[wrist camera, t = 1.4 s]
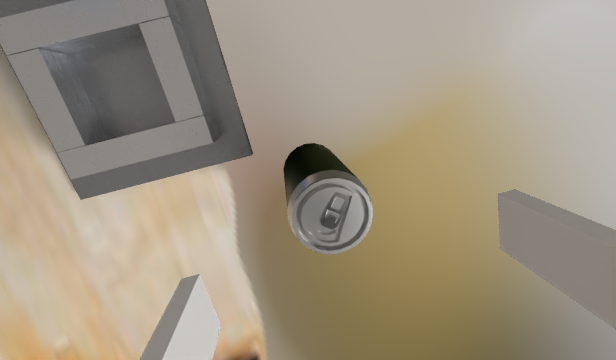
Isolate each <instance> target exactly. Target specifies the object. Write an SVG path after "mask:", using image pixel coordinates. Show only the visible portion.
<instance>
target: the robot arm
mask: <svg viewBox="0 0 616 360" xmlns="http://www.w3.org/2000/svg"><path fill="white" fill-rule="evenodd" d="M498 211H499V235H500V249H501V250H503V251H504V252H506V253H507V254H509V255H510V256H511V257H513V258H514V259H516V260H517V261H519V262H520V263H522V264H523V265H524V266H526V267H527V268H529V269H530V270H532V271H533V272H534V273H536V274H537V275H539V276H540V277H542V278H543V279H544V280H546V281H547V282H549V283H550V284H552V285H553V286H554V287H556V288H557V289H559V290H560V291H562V292H563V293H564V294H566V295H567V296H569V297H570V298H571V299H573V300H574V301H576V302H577V303H579V304H580V305H582V306H583V307H584V308H586V309H587V310H589V311H590V312H592V313H593V314H594V315H596V316H597V317H599V318H600V319H601V320H603V321H604V322H606V323H607V324H609V325H610V326H612V327H613V328H614V329H616V230H614V229H612V228H609V227H607V226H604V225H601V224H599V223H596V222H594V221H592V220H589V219H587V218H584V217H582V216H579V215H577V214H574V213H572V212H569V211H567V210H565V209H562V208H560V207H557V206H555V205H552V204H550V203H547V202H545V201H542V200H540V199H538V198H535V197H533V196H530V195H528V194H525V193H523V192H520V191H518V190H515V189H514V190H511V191H507V192H503V193H499V194H498ZM220 327H221V324H220V322H219V319H218V317H217V315H216V312H215V310H214V307H213V305H212V303H211V300H210V298H209V296H208V293H207V291H206V289H205V286H204V284H203V282H202V279H201V277H200V275H199V274H198V275H195V276H191V277H187V278H184V279H181V281H180V283H179V285H178V287H177V289H176V291H175V292H174V294H173V296H172V298H171V300H170V302H169V304H168V306H167V308H166V310H165V312H164V314H163V316H162V317H161V319H160V321H159V323H158V325H157V327H156V329H155V331H154V333H153V335H152V337H151V339H150V341H149V342H148V344H147V346H146V348H145V350H144V352H143V354H142V356H141V358H140V360H212V359H213V355H214V351H215V347H216V343H217V339H218V335H219V331H220Z"/></svg>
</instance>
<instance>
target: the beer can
mask: <svg viewBox="0 0 616 360" xmlns="http://www.w3.org/2000/svg"><path fill="white" fill-rule="evenodd" d="M284 179H285V190H286V200H287V212H288V222H289V224H290V226H291V228H292V230H293V233H294V234H295V235H296V236H297V238H298V239H299V240H300V241H301V242H302V243H303V244H304V245H305V246H306V247H307V248H310V249H311V250H313V251H315V252H319V253H324V254H334V253H341V252H344V251H346V250H349V249H351V248H353V247H354V246H355V245H357V244H358V243H359V242H360V241H362V239H363V238H364V237H365V235H366V234H367V232H368V231H369V228H370V226H371V222H372V219H373V207H372V205H371V200H370V196H369V194H368V191H367V189H366V187H365V186H364V185H363V184H362V183H361V181H360V180H359V179H358V178H357V177H356V176H355V175H354V174H353V173H352V172H351V171H350V170H349V169H348V168H347V167H346V166H345V165H344V164H343V163H342V162H341V161H340V160H339V159H338V158H337V157H336V156H335V155H334V154H333V153H332V152H331V151H330V150H329V149H328V148H326V147H324V146H323V145H319V144H315V143H312V144H304V145H302V146H299V147H297V148H296V149H295V150H293V151H292V152H291V153H290V154H289V156H288V158H287V159H286V161H285V165H284Z"/></svg>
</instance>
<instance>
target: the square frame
mask: <svg viewBox="0 0 616 360" xmlns="http://www.w3.org/2000/svg"><path fill="white" fill-rule="evenodd" d="M0 45H1V47H2V49H3V51H4V53H5V55H6V57H7V59H8V61H9V62H10V64H11V66H12V68H13V70H14V72H15V74H16V76H17V78H18V80H19V82H20V84H21V86H22V87H23V89H24V91H25V93H26V95H27V97H28V99H29V101H30V103H31V105H32V107H33V109H34V111H35V112H36V114H37V116H38V118H39V120H40V122H41V124H42V126H43V128H44V130H45V132H46V134H47V136H48V138H49V139H50V141H51V143H52V145H53V147H54V149H55V151H56V153H57V155H58V157H59V159H60V161H61V163H62V164H63V166H64V168H65V170H66V172H67V174H68V176H69V178H70V180H71V182H72V184H73V186H74V188H75V190H76V191H77V193H78V195H79V197H80V199H81V200H82V199H86V198H89V197H93V196H97V195H101V194H105V193H109V192H112V191H116V190H120V189H124V188H128V187H132V186H135V185H139V184H143V183H147V182H151V181H155V180H158V179H162V178H166V177H170V176H174V175H177V174H181V173H185V172H189V171H193V170H197V169H200V168H204V167H208V166H212V165H216V164H220V163H223V162H227V161H231V160H235V159H238V158H242V157H246V156H250V155H252V154H253V152H252V149H251V145H250V142H249V139H248V136H247V133H246V129H245V126H244V123H243V120H242V116H241V113H240V110H239V107H238V103H237V100H236V97H235V94H234V90H233V87H232V84H231V81H230V77H229V74H228V71H227V68H226V64H225V61H224V58H223V55H222V52H221V48H220V45H219V42H218V38H217V35H216V32H215V29H214V25H213V22H212V19H211V16H210V12H209V9H208V6H207V3H206V0H0Z"/></svg>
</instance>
